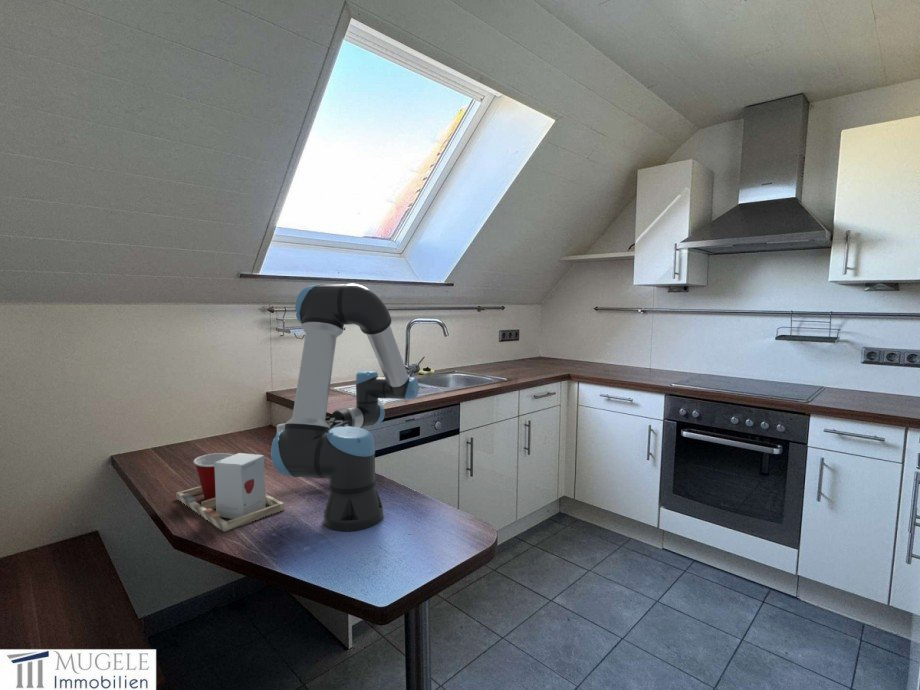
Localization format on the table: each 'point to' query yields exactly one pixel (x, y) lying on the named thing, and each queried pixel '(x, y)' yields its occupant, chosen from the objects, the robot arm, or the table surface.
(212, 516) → the wooden frame
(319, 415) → the robot arm
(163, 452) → the table surface
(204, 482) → the plastic cup
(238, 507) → the supplement box
